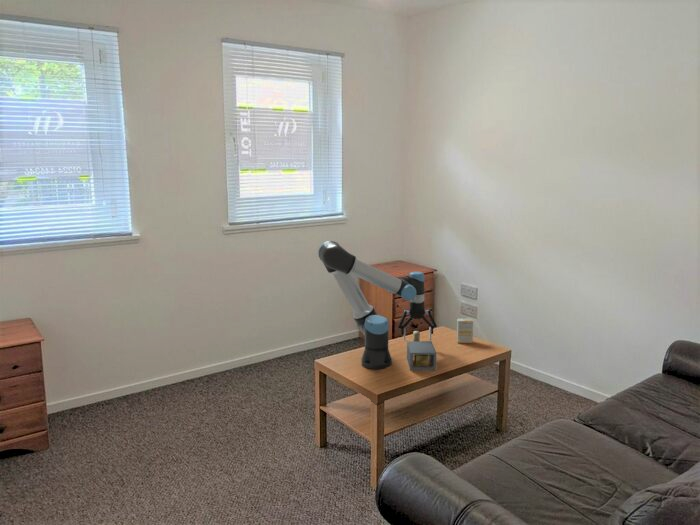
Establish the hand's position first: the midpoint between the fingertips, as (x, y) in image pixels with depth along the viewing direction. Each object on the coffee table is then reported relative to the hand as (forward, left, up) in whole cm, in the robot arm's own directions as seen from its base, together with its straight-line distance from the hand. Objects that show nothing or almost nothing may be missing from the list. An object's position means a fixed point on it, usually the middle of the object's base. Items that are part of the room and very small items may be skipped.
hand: (417, 340), depth 291 cm
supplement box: (+28, +11, -6) cm, 30 cm away
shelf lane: (0, -20, -6) cm, 20 cm away
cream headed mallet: (0, -11, -6) cm, 12 cm away
